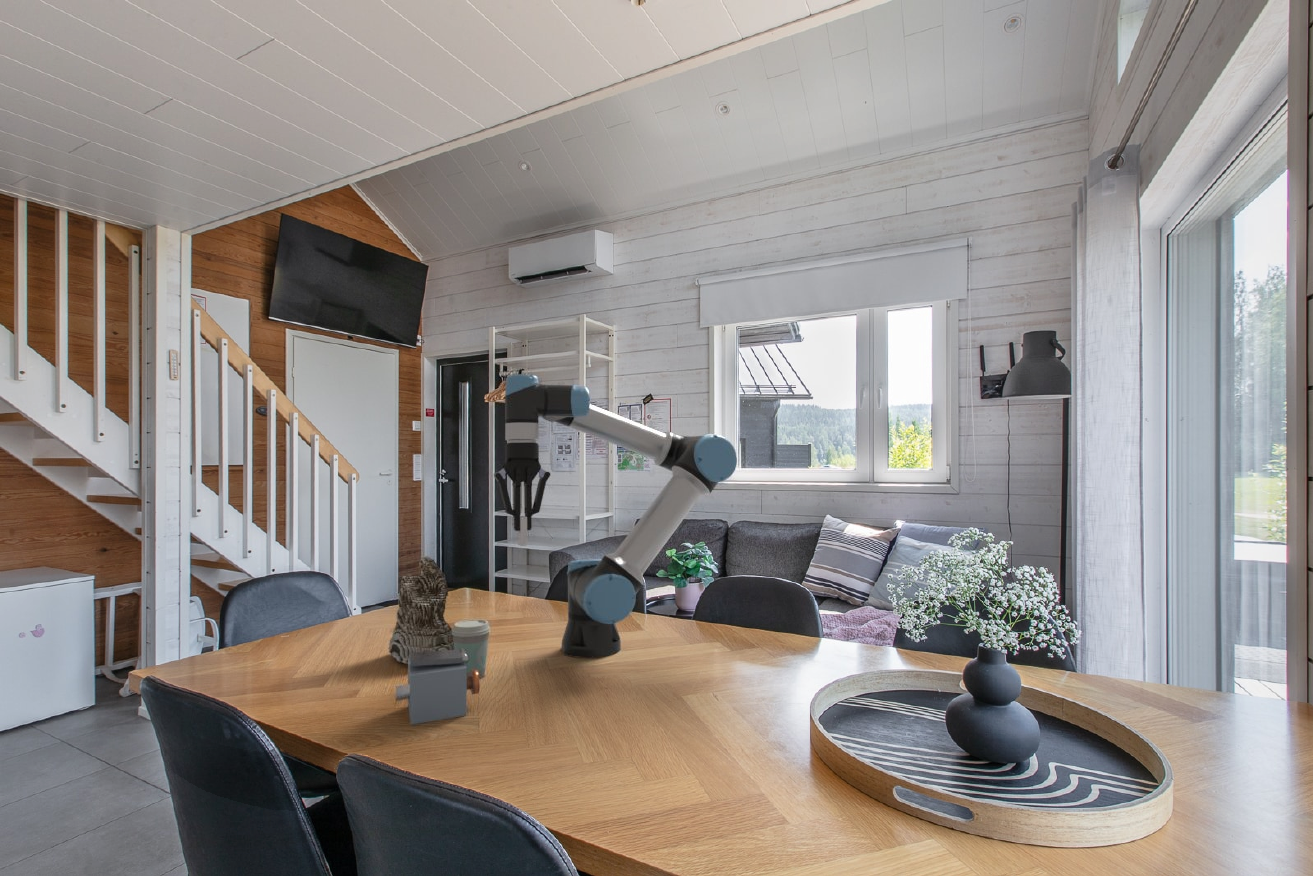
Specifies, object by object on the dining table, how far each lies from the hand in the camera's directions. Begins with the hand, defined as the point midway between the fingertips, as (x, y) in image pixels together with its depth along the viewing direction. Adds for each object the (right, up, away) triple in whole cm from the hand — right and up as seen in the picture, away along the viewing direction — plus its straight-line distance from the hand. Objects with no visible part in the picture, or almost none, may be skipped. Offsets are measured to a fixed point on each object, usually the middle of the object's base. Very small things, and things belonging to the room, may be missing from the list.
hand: (522, 544), depth 148 cm
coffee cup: (-11, -30, -2) cm, 32 cm away
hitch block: (-12, -29, -22) cm, 38 cm away
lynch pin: (-12, -27, -22) cm, 36 cm away
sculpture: (-27, -31, +12) cm, 42 cm away
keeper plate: (-12, -19, -21) cm, 31 cm away
